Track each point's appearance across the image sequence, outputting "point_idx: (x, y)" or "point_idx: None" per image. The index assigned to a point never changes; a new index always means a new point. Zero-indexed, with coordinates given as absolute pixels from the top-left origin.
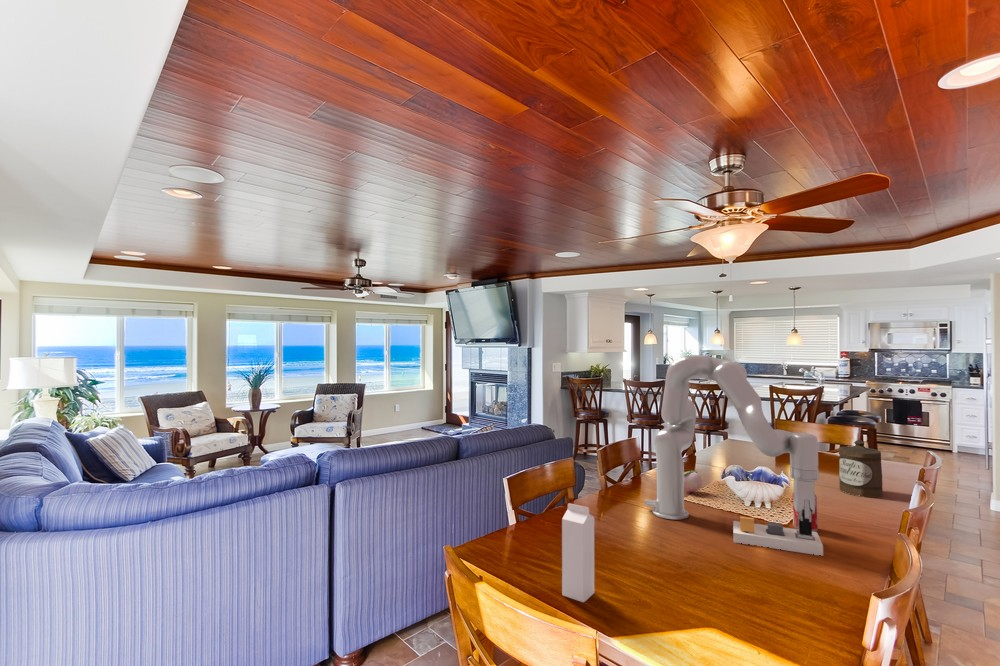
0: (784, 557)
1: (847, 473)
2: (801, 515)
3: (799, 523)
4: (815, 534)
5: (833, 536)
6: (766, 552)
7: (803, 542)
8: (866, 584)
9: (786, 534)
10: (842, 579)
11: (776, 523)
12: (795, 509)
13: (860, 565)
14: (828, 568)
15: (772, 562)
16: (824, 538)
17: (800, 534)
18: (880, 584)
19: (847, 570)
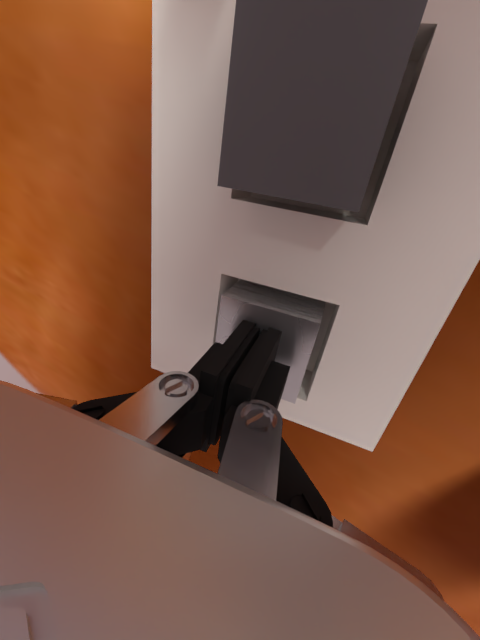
0: (91, 145)
1: None
2: (116, 412)
3: (222, 355)
4: (322, 420)
5: (468, 523)
6: (113, 31)
7: (159, 289)
8: (22, 357)
9: (278, 224)
10: (15, 309)
11: (346, 138)
12: (5, 401)
13: None
14: (71, 305)
15: (2, 55)
16: (431, 468)
17: (223, 312)
18: (42, 391)
19: (86, 359)
